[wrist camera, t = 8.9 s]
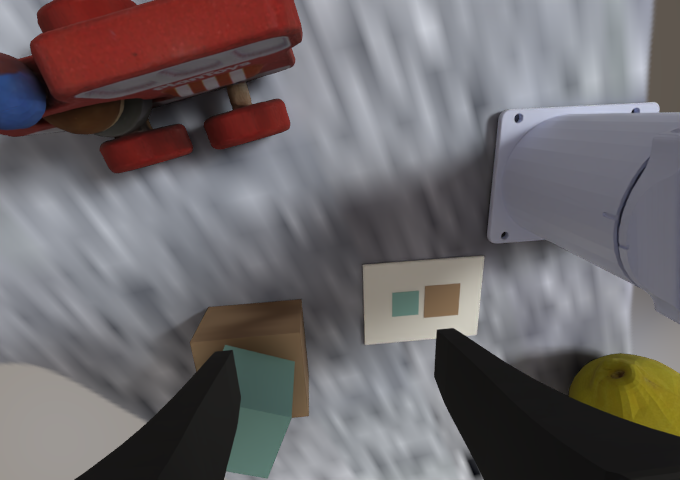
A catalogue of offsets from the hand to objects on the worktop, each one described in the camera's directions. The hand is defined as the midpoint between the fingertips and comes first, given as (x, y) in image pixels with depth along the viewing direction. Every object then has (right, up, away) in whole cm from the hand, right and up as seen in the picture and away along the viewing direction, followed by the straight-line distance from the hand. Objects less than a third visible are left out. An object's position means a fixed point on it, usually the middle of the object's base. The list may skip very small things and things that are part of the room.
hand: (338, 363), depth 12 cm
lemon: (+20, -6, +15) cm, 26 cm away
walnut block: (-5, -3, +12) cm, 13 cm away
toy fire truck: (-8, +13, +6) cm, 16 cm away
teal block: (-5, -4, +8) cm, 10 cm away
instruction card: (+6, 0, +11) cm, 13 cm away
